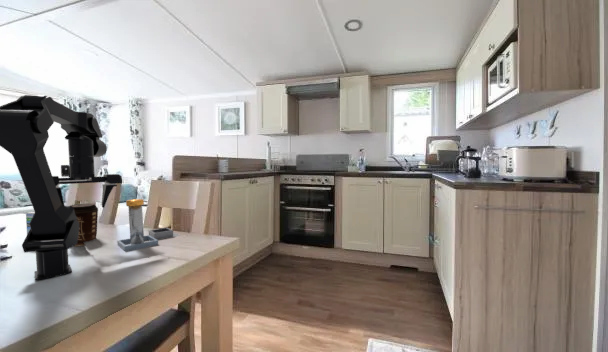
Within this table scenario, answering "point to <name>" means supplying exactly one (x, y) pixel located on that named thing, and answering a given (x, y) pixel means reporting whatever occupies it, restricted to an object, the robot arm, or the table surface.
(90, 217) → the coffee cup
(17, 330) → the table surface
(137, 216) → the stop pin
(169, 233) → the square socket base
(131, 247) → the tray
